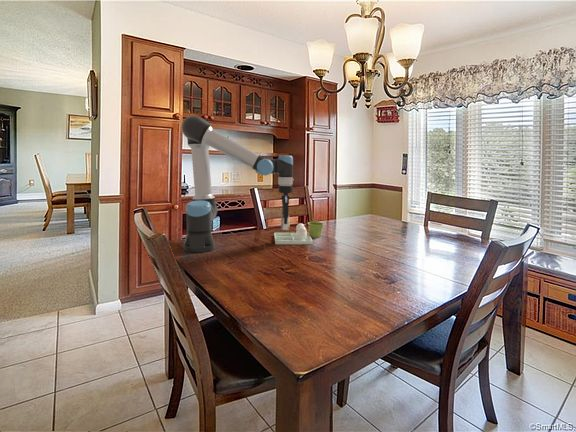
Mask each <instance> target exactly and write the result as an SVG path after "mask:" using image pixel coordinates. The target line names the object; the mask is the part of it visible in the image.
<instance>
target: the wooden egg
mask: <svg viewBox="0 0 576 432" xmlns="http://www.w3.org/2000/svg"><path fill="white" fill-rule="evenodd" d="M282 217H283V215H281V216H280V230H282V231H284V230H283V218H282ZM290 219H291V218H290V215H289V214H288V230H287V231H289V230H290V229H291V228H290V227H291V226H290V225H291V224H290V223H291V222H290Z"/></svg>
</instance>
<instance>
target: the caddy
mask: <svg viewBox="0 0 576 432" xmlns="http://www.w3.org/2000/svg"><path fill="white" fill-rule="evenodd" d="M273 236H274V244H275V245H314V241H313V239H312V237H310V232H307V239H306V241H298V236H296V232H274V233H273Z"/></svg>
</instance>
